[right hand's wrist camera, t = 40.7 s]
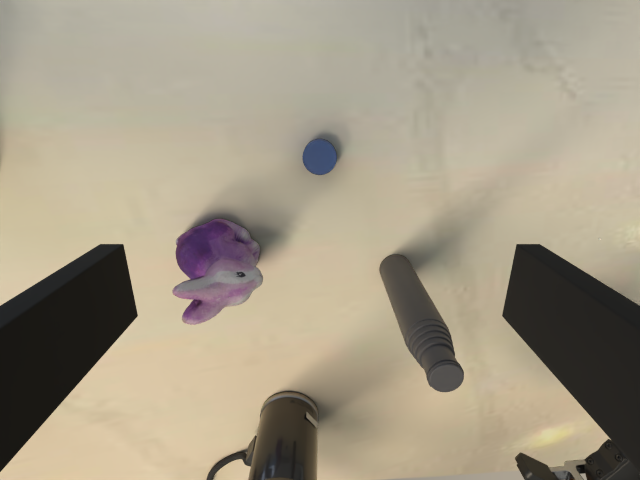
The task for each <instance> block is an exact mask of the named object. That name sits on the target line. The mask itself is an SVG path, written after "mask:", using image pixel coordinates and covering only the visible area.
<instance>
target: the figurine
mask: <svg viewBox="0 0 640 480" xmlns="http://www.w3.org/2000/svg"><path fill="white" fill-rule="evenodd" d="M176 245H177V248H176V259H177V263H178V265H179V267H180V269H181V270H182V271H183V272H184V273H185V274H186V275H187V276H188V277H189V278H190V279H191V280H187V281H184V282H182V283H180V284H179V285H177V286H175V288H174V289H173V295H175V296H177V297H179V298H183V299H193V301H192V302H191V304H190V305H189V306H188V307H187V309H186V310H185V312H184V313H183V316H182V321H183V322H184V323H187V324H193V325H195V324H199V323H202V322H205V321H207V320H209V319H211V318H212V317H214V316H216V315H217V314H218V313H219V312H220V311H221V310H222V309H223V308H224V307H228V306H235V305H239V304H242V303H244V302H245V301H246V300H247V299H248V298H249V297H250V295H251V293H252V292H253V290H255V289H256V288H258V287H259V286H260V285H261V284H262V281H263V276H262V274H261V272H260V270H259V269H258V268H257V267H256V264H257V263H258V257H259V253H260V246H259V244H258V243H257V242H255V241H254V240H253V239H251V237H250V234H249V232H248V231H247V230H246V229H244V228H243V227H241V226H239V225H237V224H235V223H233V222H230V221H228V220H225V219H214V220H212V221H210V222H208V223H206V224H203V225H200V226H196V227H194V228H192V229H190V230H189V231H187V232H185V233H184V234H182V235H181V236H179V237H178V238H177V240H176Z"/></svg>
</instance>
